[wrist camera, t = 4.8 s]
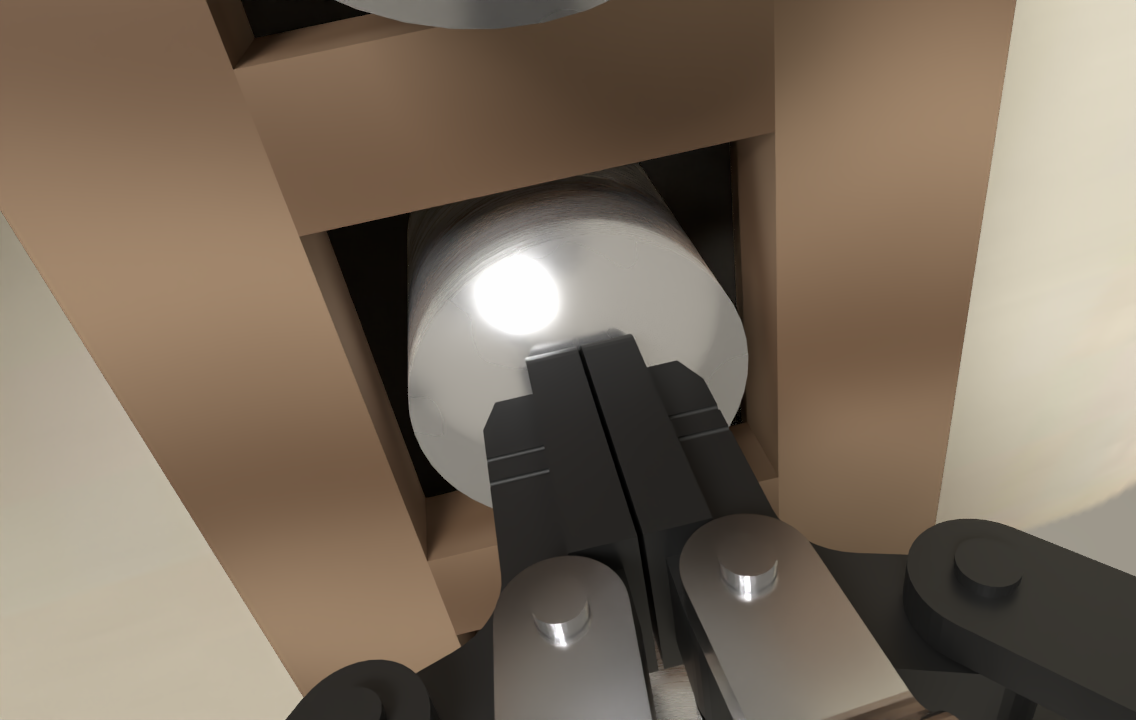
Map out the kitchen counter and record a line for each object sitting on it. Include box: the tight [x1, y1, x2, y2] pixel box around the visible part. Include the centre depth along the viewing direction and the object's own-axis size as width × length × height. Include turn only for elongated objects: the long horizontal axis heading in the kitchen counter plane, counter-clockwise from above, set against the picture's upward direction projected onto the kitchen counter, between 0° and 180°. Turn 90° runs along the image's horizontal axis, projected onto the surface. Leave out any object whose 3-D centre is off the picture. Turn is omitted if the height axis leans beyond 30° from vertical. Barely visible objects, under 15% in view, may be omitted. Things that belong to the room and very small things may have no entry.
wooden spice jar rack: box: [0, 0, 1016, 697], centre depth 15 cm, size 25×12×8 cm, turn 9°
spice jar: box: [407, 162, 748, 508], centre depth 13 cm, size 5×5×5 cm
